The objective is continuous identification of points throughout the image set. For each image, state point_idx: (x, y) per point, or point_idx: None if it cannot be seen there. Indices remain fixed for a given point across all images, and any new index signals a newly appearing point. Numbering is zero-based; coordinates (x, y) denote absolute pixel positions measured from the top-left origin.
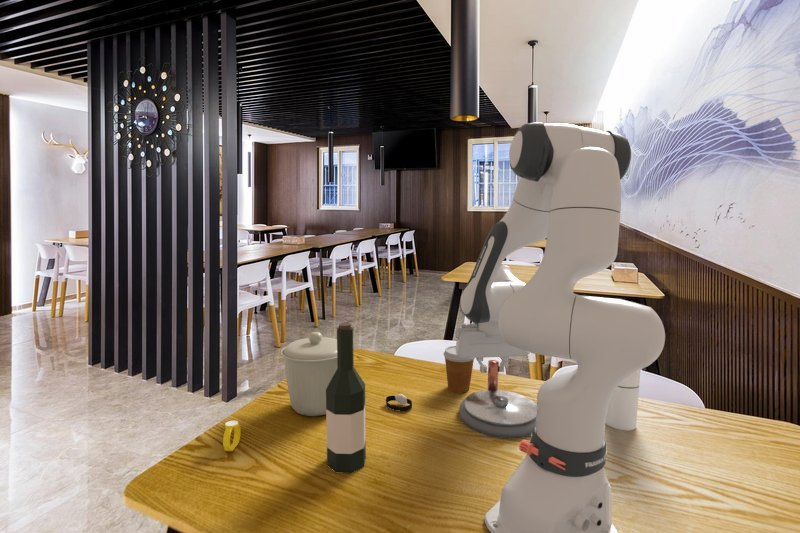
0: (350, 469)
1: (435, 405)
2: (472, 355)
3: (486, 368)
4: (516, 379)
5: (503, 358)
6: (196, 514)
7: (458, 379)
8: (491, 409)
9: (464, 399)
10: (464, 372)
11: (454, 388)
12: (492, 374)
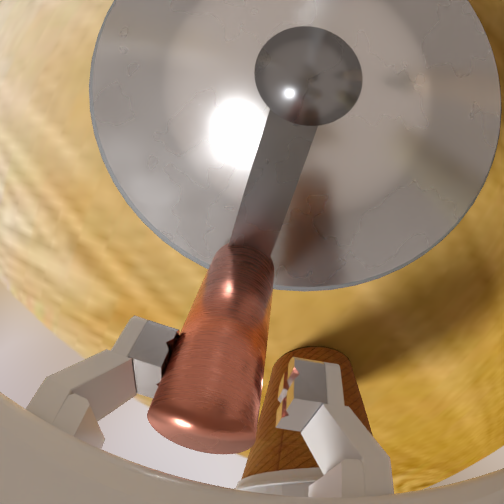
0: None
1: (472, 289)
2: (474, 501)
3: (299, 386)
4: (84, 348)
5: (85, 421)
6: None
7: (347, 393)
8: (399, 49)
9: (408, 263)
10: None
11: (349, 367)
12: (248, 325)
